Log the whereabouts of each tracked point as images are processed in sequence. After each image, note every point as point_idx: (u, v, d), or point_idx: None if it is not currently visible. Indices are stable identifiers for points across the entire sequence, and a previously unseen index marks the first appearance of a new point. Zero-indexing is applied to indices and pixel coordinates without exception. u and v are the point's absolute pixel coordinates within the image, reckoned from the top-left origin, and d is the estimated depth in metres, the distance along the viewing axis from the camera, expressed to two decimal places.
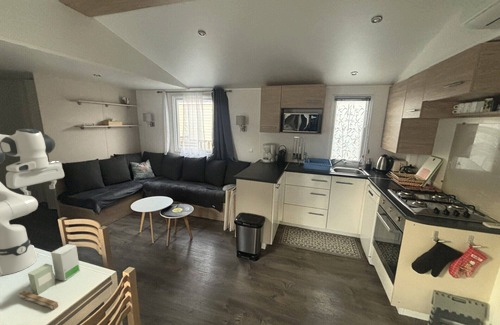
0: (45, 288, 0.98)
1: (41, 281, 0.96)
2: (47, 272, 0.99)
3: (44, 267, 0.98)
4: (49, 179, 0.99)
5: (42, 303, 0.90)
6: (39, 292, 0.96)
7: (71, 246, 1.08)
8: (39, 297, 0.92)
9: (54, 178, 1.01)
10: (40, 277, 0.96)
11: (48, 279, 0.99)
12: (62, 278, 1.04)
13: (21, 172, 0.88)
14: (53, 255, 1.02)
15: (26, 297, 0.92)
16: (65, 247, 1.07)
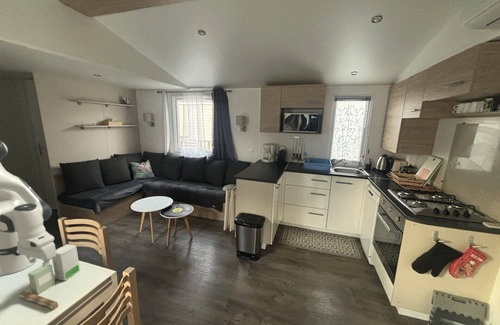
0: (45, 288, 0.98)
1: (41, 281, 0.96)
2: (47, 272, 0.99)
3: (44, 267, 0.98)
4: None
5: (42, 303, 0.90)
6: (39, 292, 0.96)
7: (71, 246, 1.08)
8: (39, 297, 0.92)
9: None
10: (40, 277, 0.96)
11: (48, 279, 0.99)
12: (62, 278, 1.04)
13: None
14: None
15: (26, 297, 0.92)
16: (65, 247, 1.07)
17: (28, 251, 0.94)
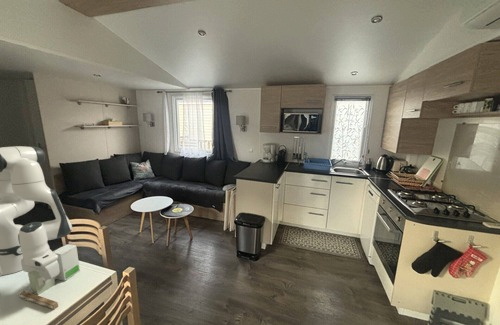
0: (45, 288, 0.98)
1: (41, 281, 0.96)
2: None
3: None
4: None
5: (42, 303, 0.90)
6: (39, 292, 0.96)
7: (71, 246, 1.08)
8: (39, 297, 0.92)
9: None
10: (40, 277, 0.96)
11: None
12: (62, 278, 1.04)
13: None
14: None
15: (26, 297, 0.92)
16: (65, 247, 1.07)
17: (32, 269, 0.96)
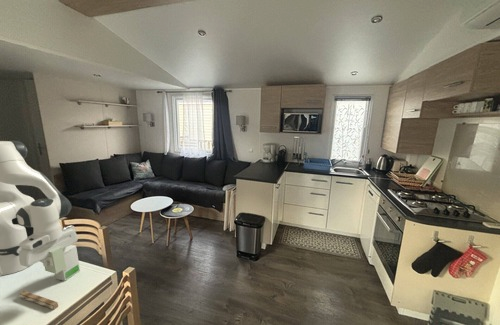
0: (49, 270, 0.92)
1: (46, 260, 0.91)
2: (49, 256, 0.90)
3: None
4: (62, 247, 0.95)
5: (42, 303, 0.90)
6: (46, 269, 0.93)
7: (71, 246, 1.08)
8: (39, 297, 0.92)
9: (67, 245, 0.97)
10: None
11: (50, 263, 0.91)
12: (62, 278, 1.04)
13: (35, 248, 0.84)
14: None
15: (26, 297, 0.92)
16: None
17: None
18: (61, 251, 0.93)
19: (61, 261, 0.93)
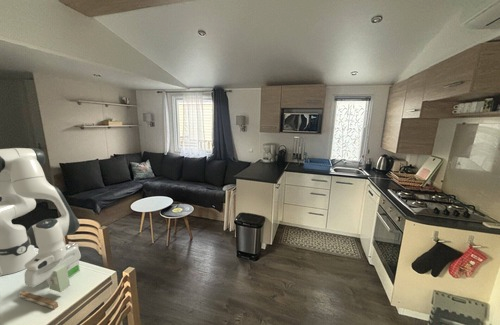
0: (54, 288, 0.94)
1: (50, 279, 0.93)
2: (54, 275, 0.92)
3: None
4: (66, 265, 0.97)
5: (42, 303, 0.90)
6: (50, 287, 0.95)
7: None
8: (39, 297, 0.92)
9: (71, 263, 0.99)
10: None
11: (55, 282, 0.93)
12: None
13: (40, 269, 0.86)
14: None
15: (26, 297, 0.92)
16: None
17: None
18: (65, 270, 0.95)
19: (65, 279, 0.95)
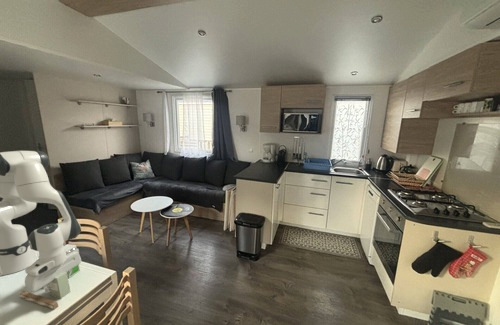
0: (54, 294, 0.95)
1: (51, 285, 0.94)
2: (54, 282, 0.93)
3: None
4: (67, 270, 0.97)
5: (42, 303, 0.90)
6: (50, 293, 0.95)
7: (71, 246, 1.08)
8: (39, 297, 0.92)
9: (71, 267, 0.99)
10: None
11: (55, 289, 0.94)
12: None
13: (40, 274, 0.87)
14: None
15: (26, 297, 0.92)
16: (65, 247, 1.07)
17: None
18: (66, 276, 0.96)
19: (66, 286, 0.96)
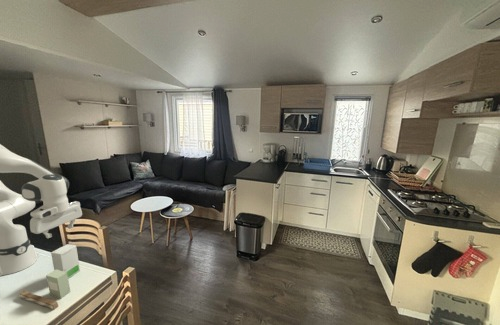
0: (54, 294, 0.95)
1: (51, 285, 0.94)
2: (54, 282, 0.93)
3: (57, 275, 0.94)
4: (68, 220, 1.04)
5: (42, 303, 0.90)
6: (50, 293, 0.95)
7: (71, 246, 1.08)
8: (39, 297, 0.92)
9: (73, 218, 1.06)
10: (50, 281, 0.94)
11: (55, 289, 0.94)
12: None
13: (44, 218, 0.93)
14: (53, 255, 1.02)
15: (26, 297, 0.92)
16: (65, 247, 1.07)
17: None
18: (66, 276, 0.96)
19: (66, 286, 0.96)
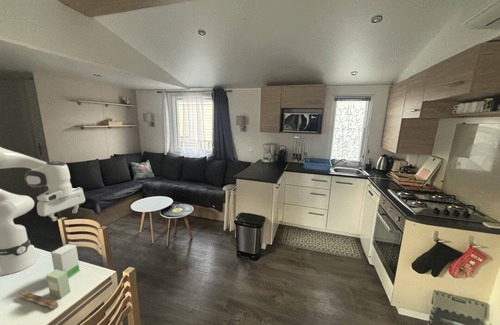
0: (54, 294, 0.95)
1: (51, 285, 0.94)
2: (54, 282, 0.93)
3: (57, 275, 0.94)
4: (72, 205, 1.10)
5: (42, 303, 0.90)
6: (50, 294, 0.95)
7: (71, 246, 1.08)
8: (39, 297, 0.92)
9: (77, 203, 1.12)
10: (50, 281, 0.94)
11: (55, 289, 0.94)
12: None
13: (50, 201, 0.99)
14: (53, 255, 1.02)
15: (26, 297, 0.92)
16: (65, 247, 1.07)
17: None
18: (66, 276, 0.96)
19: (66, 286, 0.96)
